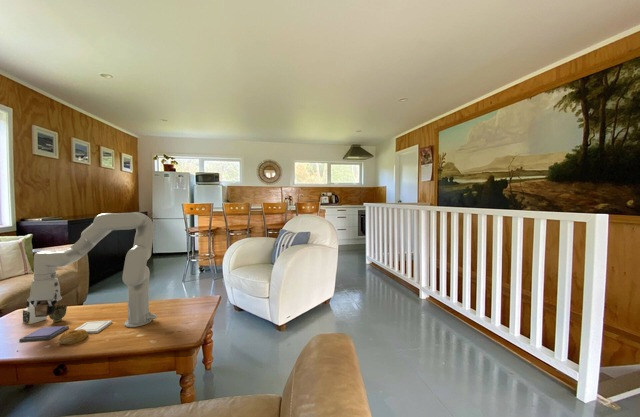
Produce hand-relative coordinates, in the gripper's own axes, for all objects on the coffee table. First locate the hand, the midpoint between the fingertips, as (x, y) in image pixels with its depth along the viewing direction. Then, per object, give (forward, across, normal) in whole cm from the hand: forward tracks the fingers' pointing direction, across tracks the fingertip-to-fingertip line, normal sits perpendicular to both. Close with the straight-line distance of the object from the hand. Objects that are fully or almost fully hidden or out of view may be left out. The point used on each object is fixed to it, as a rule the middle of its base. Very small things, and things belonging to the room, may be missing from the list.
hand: (44, 313), depth 131 cm
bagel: (+11, -18, +7) cm, 22 cm away
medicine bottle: (+11, +19, -19) cm, 29 cm away
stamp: (+1, 0, 0) cm, 1 cm away
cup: (+11, +6, -16) cm, 20 cm away
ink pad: (+11, 0, 0) cm, 11 cm away
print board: (+10, -18, -4) cm, 21 cm away
